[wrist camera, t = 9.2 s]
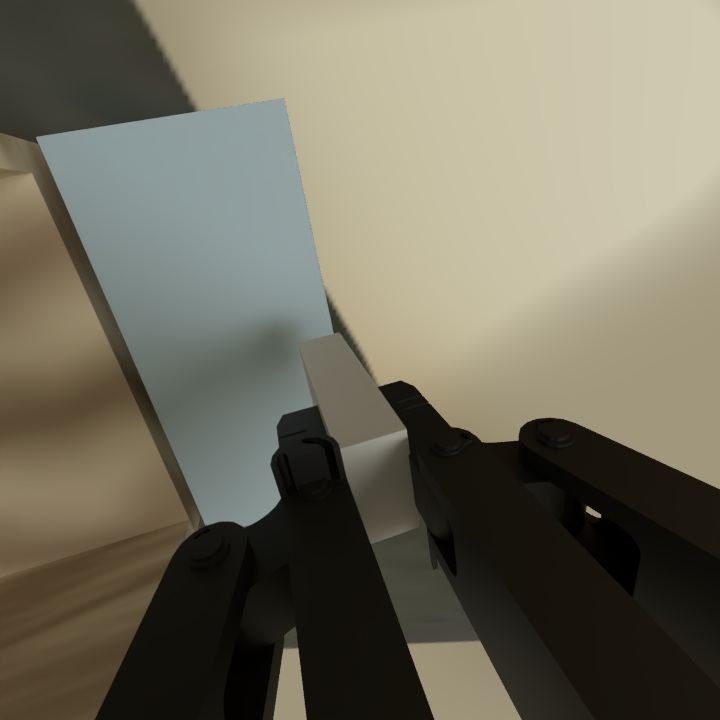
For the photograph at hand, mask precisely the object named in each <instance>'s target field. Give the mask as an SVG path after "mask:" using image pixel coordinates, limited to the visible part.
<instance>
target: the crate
mask: <svg viewBox="0 0 720 720" xmlns="http://www.w3.org/2000/svg"><path fill="white" fill-rule="evenodd" d="M199 520H200V512H199V509H198V507H197V505H196V503H195V500H194V498H193V496H192V493H191V491H190V489H189V487H188V484H187V482H186V480H185V477H184V475H183V473H182V471H181V468H180V466H179V464H178V461H177V459H176V457H175V455H174V452H173V450H172V448H171V445H170V443H169V441H168V438H167V436H166V434H165V432H164V429H163V427H162V425H161V422H160V420H159V418H158V416H157V413H156V411H155V409H154V406H153V404H152V402H151V400H150V397H149V395H148V393H147V390H146V388H145V386H144V384H143V381H142V379H141V377H140V374H139V372H138V370H137V368H136V365H135V363H134V361H133V358H132V356H131V354H130V351H129V349H128V347H127V345H126V342H125V340H124V338H123V335H122V333H121V331H120V329H119V326H118V324H117V322H116V319H115V317H114V315H113V313H112V310H111V308H110V306H109V303H108V301H107V299H106V297H105V294H104V292H103V290H102V287H101V285H100V283H99V281H98V278H97V276H96V274H95V271H94V269H93V267H92V265H91V262H90V260H89V258H88V255H87V253H86V251H85V248H84V246H83V244H82V242H81V239H80V237H79V235H78V232H77V230H76V228H75V226H74V223H73V221H72V219H71V216H70V214H69V212H68V210H67V207H66V205H65V203H64V200H63V198H62V196H61V194H60V191H59V189H58V187H57V184H56V182H55V180H54V178H53V175H52V173H51V171H50V168H49V166H48V164H47V161H46V159H45V157H44V155H43V152H42V150H41V148H40V145H39V144H36V143H33V142H29V141H26V140H23V139H19V138H16V137H13V136H9V135H6V134H3V133H0V720H95V718H96V716H97V713H98V711H99V709H100V707H101V705H102V703H103V701H104V699H105V697H106V695H107V692H108V690H109V688H110V686H111V684H112V682H113V680H114V678H115V676H116V673H117V671H118V669H119V667H120V665H121V663H122V661H123V659H124V657H125V655H126V652H127V650H128V648H129V646H130V644H131V642H132V640H133V638H134V636H135V633H136V631H137V629H138V627H139V625H140V623H141V621H142V619H143V617H144V615H145V612H146V610H147V608H148V606H149V604H150V602H151V600H152V598H153V596H154V593H155V591H156V589H157V587H158V585H159V583H160V581H161V579H162V577H163V575H164V572H165V570H166V568H167V566H168V564H169V562H170V560H171V558H172V556H173V554H174V553H175V552H176V550H177V549H178V547H179V546H180V544H181V543H182V542H183V541H185V540H186V539H187V538H188V537H189V536H190V535H191V534H192V533H194V532H196V531H198V525H199Z"/></svg>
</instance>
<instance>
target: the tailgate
mask: <svg viewBox="0 0 720 720" xmlns="http://www.w3.org/2000/svg"><path fill="white" fill-rule="evenodd" d="M36 139H37V141H38V143H39V145H40V148H41V150H42V152H43V155H44V157H45V159H46V161H47V164H48V166H49V168H50V171H51V173H52V175H53V178H54V180H55V182H56V184H57V187H58V189H59V191H60V194H61V196H62V198H63V200H64V203H65V205H66V207H67V210H68V212H69V214H70V216H71V219H72V221H73V223H74V226H75V228H76V230H77V232H78V235H79V237H80V239H81V242H82V244H83V246H84V248H85V251H86V253H87V255H88V258H89V260H90V262H91V265H92V267H93V269H94V271H95V274H96V276H97V278H98V281H99V283H100V285H101V287H102V290H103V292H104V294H105V297H106V299H107V301H108V303H109V306H110V308H111V310H112V313H113V315H114V317H115V319H116V322H117V324H118V326H119V329H120V331H121V333H122V335H123V338H124V340H125V342H126V345H127V347H128V349H129V351H130V354H131V356H132V358H133V361H134V363H135V365H136V368H137V370H138V372H139V374H140V377H141V379H142V381H143V384H144V386H145V388H146V390H147V393H148V395H149V397H150V400H151V402H152V404H153V406H154V409H155V411H156V413H157V416H158V418H159V420H160V422H161V425H162V427H163V429H164V432H165V434H166V436H167V438H168V441H169V443H170V445H171V448H172V450H173V452H174V455H175V457H176V459H177V461H178V464H179V466H180V468H181V471H182V473H183V475H184V477H185V480H186V482H187V484H188V487H189V489H190V491H191V493H192V496H193V498H194V500H195V503H196V505H197V507H198V509H199V512H200V514H201V516H202V519H203V521H204V523H205V525H210V524H213V523H217V522H220V521H231V522H235V523H237V524H239V525H241V526H243V527H244V526H248V525H251V524H253V523H255V522H257V521H259V520H260V519H261V518H263V517H264V516H266V515H267V514H268V513H269V512H270V511H271V510H272V509H273V508H275V506H276V505H277V504H278V502H279V501H280V499H281V497H280V494H279V491H278V487H277V484H276V481H275V478H274V475H273V472H272V469H271V466H270V463H271V459H272V456H273V454H274V453H275V452H276V451H277V449H278V448H279V443H278V435H277V428H276V426H277V424H278V423H279V421H280V419H281V417H282V415H284V414H288V413H291V412H295V411H298V410H302V409H305V408H309V407H313V402H312V398H311V394H310V390H309V386H308V382H307V378H306V374H305V370H304V366H303V362H302V358H301V354H300V350H299V346H298V343H299V342H303V341H307V340H311V339H315V338H319V337H323V336H327V335H331V334H334V333H333V328H332V323H331V319H330V314H329V309H328V304H327V300H326V295H325V290H324V285H323V281H322V276H321V271H320V266H319V262H318V257H317V252H316V247H315V243H314V238H313V233H312V228H311V224H310V219H309V214H308V210H307V205H306V200H305V195H304V191H303V186H302V181H301V176H300V171H299V166H298V162H297V157H296V152H295V147H294V143H293V138H292V133H291V129H290V124H289V119H288V114H287V110H286V105H285V100H284V98H282V99H276V100H270V101H263V102H256V103H250V104H244V105H238V106H231V107H224V108H218V109H212V110H205V111H199V112H193V113H186V114H180V115H173V116H167V117H161V118H154V119H148V120H142V121H135V122H129V123H122V124H116V125H110V126H103V127H97V128H91V129H84V130H78V131H71V132H65V133H59V134H52V135H46V136H40V137H36Z"/></svg>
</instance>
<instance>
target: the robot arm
mask: <svg viewBox="0 0 720 720" xmlns="http://www.w3.org/2000/svg"><path fill="white" fill-rule="evenodd" d="M298 346H299V350H300V354H301V358H302V362H303V366H304V370H305V374H306V378H307V382H308V386H309V390H310V394H311V398H312V402H313V407H309V408H305V409H302V410H298V411H295V412H291V413H288V414H284V415H282V417H281V419H280V421H279V423H278V424H277V426H276V428H277V435H278V443H279V448H278V449H277V451H276V452H275V453H274V454H273V456H272V459H271V463H270V466H271V469H272V472H273V475H274V478H275V481H276V484H277V487H278V491H279V494H280V497H281V499H280V501H279V502H278V504H277V505H276V506H275V508H273V509H272V510H271V511H270V512H269V513H268V514H267V515H266V516H264V517H263V518H261V519H260V520H259V521H257V522H255V523H253V524H252V525H250V526H248V527H247V528H245V529H244V528H243V526H241V525H239V524H237V523H235V522H231V521H220V522H217V523H213V524H210V525H206V526H205V527H203V528H201V529H199V530H198V531H196V532H194V533H192V534H191V535H190V536H189V537H188V538H187V539H186V540H185V541H183V542H182V543H181V544H180V546H179V547H178V549H177V550H176V552H175V553H174V554H173V556H172V558H171V560H170V562H169V564H168V566H167V568H166V570H165V572H164V575H163V577H162V579H161V581H160V583H159V585H158V587H157V589H156V591H155V593H154V596H153V598H152V600H151V602H150V604H149V606H148V608H147V610H146V612H145V615H144V617H143V619H142V621H141V623H140V625H139V627H138V629H137V631H136V633H135V636H134V638H133V640H132V642H131V644H130V646H129V648H128V650H127V652H126V655H125V657H124V659H123V661H122V663H121V665H120V667H119V669H118V671H117V673H116V676H115V678H114V680H113V682H112V684H111V686H110V688H109V690H108V692H107V695H106V697H105V699H104V701H103V703H102V705H101V707H100V709H99V711H98V713H97V716H96V718H95V720H273V716H274V709H275V702H276V695H277V688H278V681H279V674H280V667H281V660H282V653H283V646H284V635H285V634H286V633H287V632H289V631H290V630H291V629H293V628H294V627H295V626H296V631H297V639H298V648H299V657H300V665H301V673H302V681H303V691H304V699H305V708H306V717H307V720H434V717H433V715H432V712H431V709H430V706H429V704H428V701H427V698H426V695H425V693H424V690H423V687H422V684H421V682H420V679H419V676H418V673H417V671H416V668H415V665H414V662H413V659H412V657H411V654H410V651H409V648H408V646H407V643H406V640H405V637H404V635H403V632H402V629H401V626H400V624H399V621H398V618H397V615H396V613H395V610H394V607H393V604H392V601H391V599H390V596H389V593H388V590H387V588H386V585H385V582H384V579H383V577H382V574H381V571H380V568H379V566H378V563H377V560H376V557H375V555H374V552H373V549H372V546H371V544H372V543H375V542H378V541H381V540H384V539H387V538H390V537H392V536H395V535H398V534H401V533H404V532H407V531H410V530H412V529H415V528H418V527H420V520H419V513H420V514H421V516H422V518H423V520H424V522H425V524H426V526H427V534H428V542H429V549H430V557H431V562H432V566H433V570H434V569H437V568H438V564H437V559H438V561H439V563H440V565H441V567H442V569H443V571H444V573H445V575H446V576H447V578H448V580H449V582H450V584H451V586H452V588H453V590H454V592H455V594H456V596H457V597H458V599H459V601H460V603H461V605H462V607H463V609H464V611H465V613H466V615H467V616H468V618H469V620H470V622H471V624H472V626H473V628H474V630H475V632H476V634H477V635H478V637H479V639H480V641H481V643H482V645H483V647H484V649H485V650H486V652H487V654H488V656H489V658H490V660H491V662H492V664H493V666H494V668H495V670H496V672H497V673H498V675H499V677H500V679H501V681H502V683H503V685H504V687H505V689H506V690H507V692H508V694H509V696H510V698H511V700H512V702H513V704H514V706H515V708H516V710H517V711H518V713H519V715H520V717H521V719H522V720H720V489H718V488H716V487H713V486H711V485H709V484H707V483H705V482H703V481H700V480H698V479H696V478H694V477H692V476H689V475H687V474H685V473H683V472H681V471H679V470H676V469H674V468H672V467H670V466H667V465H665V464H663V463H661V462H659V461H657V460H655V459H652V458H650V457H648V456H646V455H644V454H642V453H639V452H637V451H635V450H633V449H631V448H628V447H626V446H624V445H622V444H620V443H618V442H615V441H613V440H611V439H609V438H607V437H604V436H602V435H600V434H598V433H596V432H594V431H591V430H589V429H587V428H585V427H583V426H580V425H578V424H576V423H573V422H570V421H567V420H564V419H556V418H541V419H535V420H532V421H530V422H527V423H526V424H525V425H523V427H521V428H520V433H519V441H509V442H497V443H484V442H481V441H480V440H479V439H478V437H476V436H475V435H473V434H472V433H471V432H469V431H467V430H464V429H460V428H453V427H450V425H449V424H448V423H447V422H446V421H445V420H444V419H443V418H442V417H441V415H440V414H439V413H438V412H437V411H436V410H435V409H434V408H433V407H432V405H430V404H429V403H428V401H427V400H426V399H425V398H424V397H422V395H421V393H420V392H419V391H418V390H417V389H416V388H415V387H414V386H413V385H410V384H408V383H405V382H403V381H397V382H394V383H390V384H387V385H384V386H380V387H377V386H376V384H375V383H374V382H373V380H372V379H371V377H370V376H369V374H368V373H367V371H366V370H365V369H364V367H363V366H362V364H361V363H360V361H359V360H358V359H357V357H356V356H355V354H354V353H353V351H352V350H351V349H350V347H349V346H348V344H347V343H346V341H345V340H344V338H343V337H342V336H341V334H340V333H335V334H331V335H327V336H323V337H319V338H315V339H311V340H307V341H303V342H299V343H298ZM587 506H589V507H590V508H592V509H593V510H595V511H597V512H598V513H600V514H601V518H597V517H595V516H593V515H590V514H589V513H587V512H586V507H587ZM418 511H419V513H418Z"/></svg>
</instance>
